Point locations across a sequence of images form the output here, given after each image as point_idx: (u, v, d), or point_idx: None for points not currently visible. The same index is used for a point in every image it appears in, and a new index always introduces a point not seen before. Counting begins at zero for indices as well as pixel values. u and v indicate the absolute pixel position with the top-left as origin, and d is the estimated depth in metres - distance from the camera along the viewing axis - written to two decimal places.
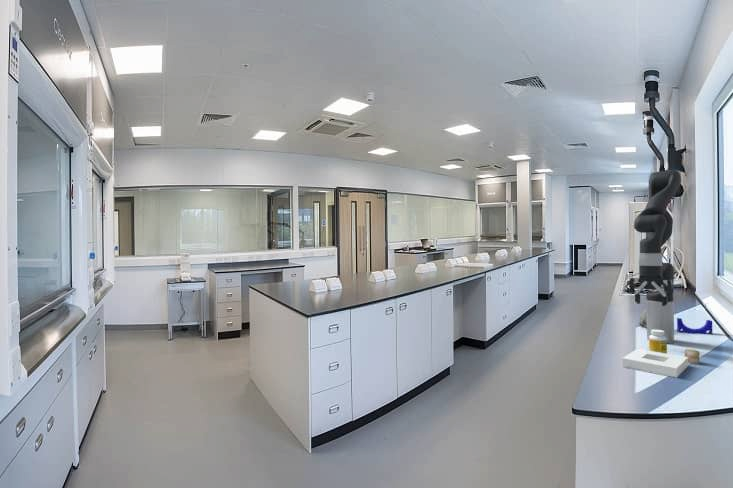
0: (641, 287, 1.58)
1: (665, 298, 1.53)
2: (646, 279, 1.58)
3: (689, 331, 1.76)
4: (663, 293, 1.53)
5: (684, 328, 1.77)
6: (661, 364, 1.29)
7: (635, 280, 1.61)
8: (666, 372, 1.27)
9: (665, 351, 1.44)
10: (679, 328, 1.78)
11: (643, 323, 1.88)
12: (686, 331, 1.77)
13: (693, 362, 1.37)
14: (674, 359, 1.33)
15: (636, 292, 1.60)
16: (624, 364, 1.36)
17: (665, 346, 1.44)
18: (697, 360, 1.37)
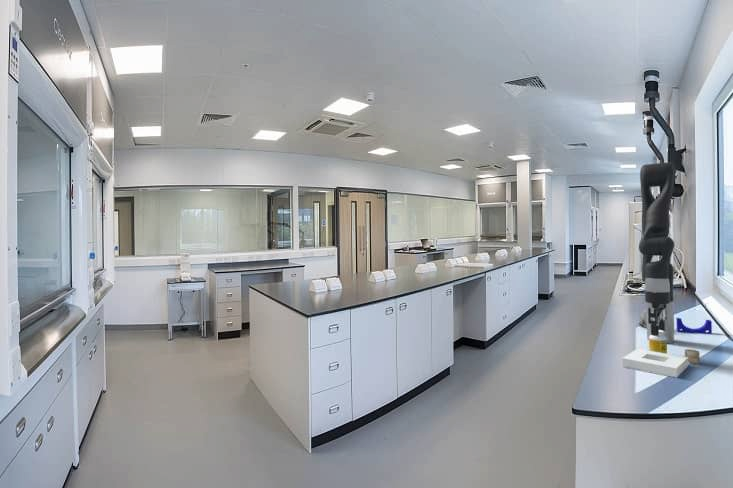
0: (661, 316, 1.43)
1: None
2: (660, 307, 1.44)
3: (689, 331, 1.77)
4: (664, 318, 1.48)
5: (684, 328, 1.78)
6: (661, 364, 1.29)
7: None
8: (666, 372, 1.27)
9: (665, 351, 1.44)
10: (679, 328, 1.79)
11: (643, 323, 1.89)
12: (686, 331, 1.77)
13: (693, 362, 1.37)
14: (674, 359, 1.33)
15: (658, 323, 1.42)
16: (624, 364, 1.36)
17: (665, 346, 1.44)
18: (697, 360, 1.37)
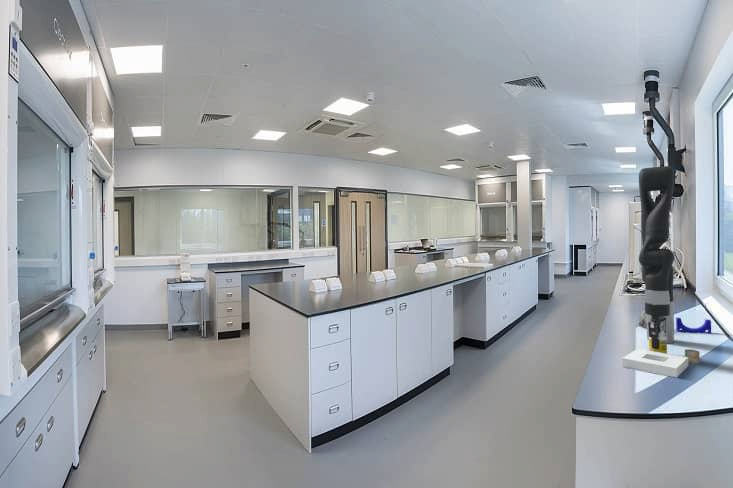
0: (661, 329, 1.44)
1: None
2: (659, 318, 1.45)
3: (688, 330, 1.77)
4: None
5: (683, 327, 1.78)
6: (661, 364, 1.29)
7: None
8: (666, 372, 1.27)
9: (665, 351, 1.44)
10: (678, 327, 1.79)
11: (642, 323, 1.89)
12: (685, 330, 1.78)
13: (693, 362, 1.37)
14: (674, 359, 1.33)
15: (659, 336, 1.43)
16: (624, 364, 1.36)
17: (665, 346, 1.44)
18: (697, 360, 1.37)
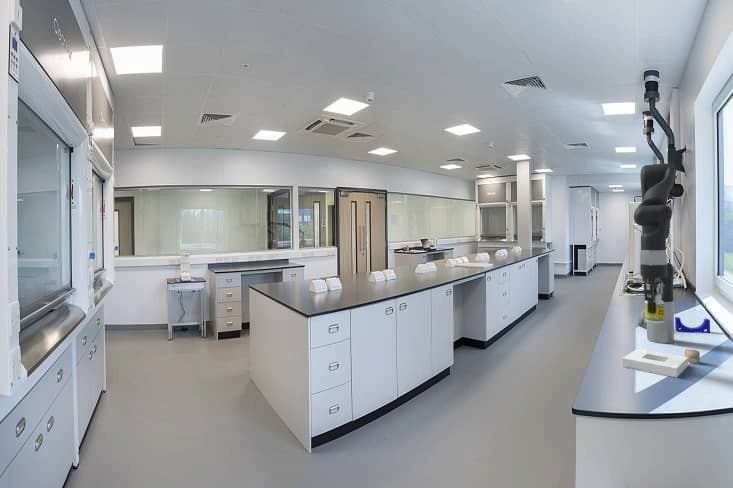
0: (658, 292, 1.32)
1: None
2: (656, 281, 1.33)
3: (687, 330, 1.78)
4: None
5: (682, 327, 1.79)
6: (661, 364, 1.29)
7: None
8: (666, 372, 1.27)
9: (662, 316, 1.33)
10: (678, 327, 1.80)
11: (641, 323, 1.89)
12: (684, 330, 1.79)
13: (693, 362, 1.37)
14: (674, 359, 1.33)
15: (655, 300, 1.32)
16: (624, 364, 1.36)
17: (662, 310, 1.33)
18: (697, 360, 1.37)
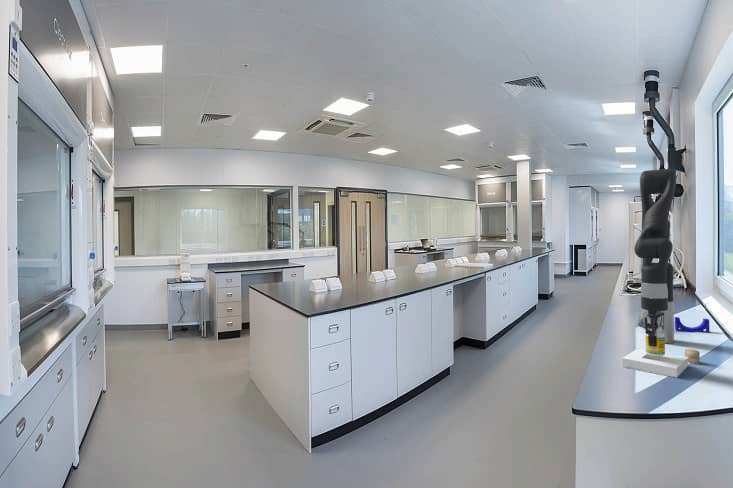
0: (658, 325, 1.33)
1: None
2: (657, 314, 1.34)
3: (687, 330, 1.79)
4: None
5: (682, 327, 1.80)
6: (661, 364, 1.29)
7: None
8: (666, 372, 1.27)
9: (663, 349, 1.33)
10: (677, 327, 1.81)
11: (641, 323, 1.89)
12: (684, 330, 1.79)
13: (693, 362, 1.37)
14: (674, 359, 1.33)
15: (656, 333, 1.32)
16: (624, 364, 1.36)
17: (663, 343, 1.33)
18: (697, 360, 1.37)
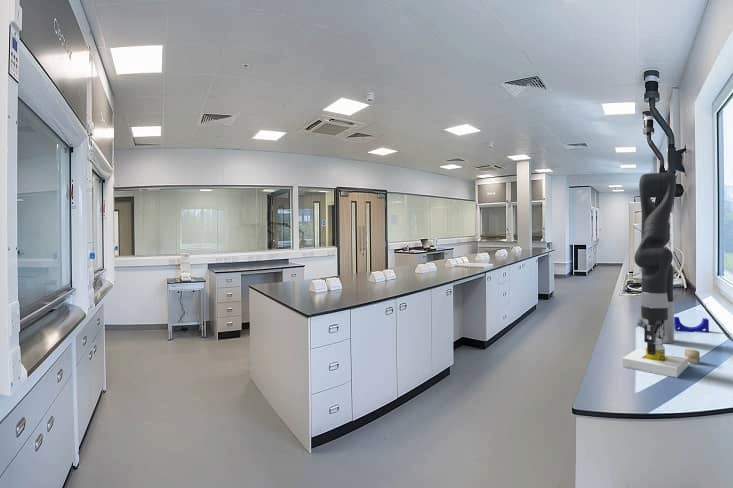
0: (658, 334, 1.32)
1: None
2: (657, 323, 1.34)
3: (686, 329, 1.79)
4: (662, 335, 1.37)
5: (681, 326, 1.80)
6: (661, 364, 1.29)
7: None
8: (666, 372, 1.27)
9: (663, 361, 1.33)
10: (677, 327, 1.81)
11: (641, 323, 1.89)
12: (683, 329, 1.80)
13: (693, 362, 1.37)
14: (674, 359, 1.33)
15: (655, 341, 1.31)
16: (624, 364, 1.36)
17: (663, 356, 1.33)
18: (697, 360, 1.37)
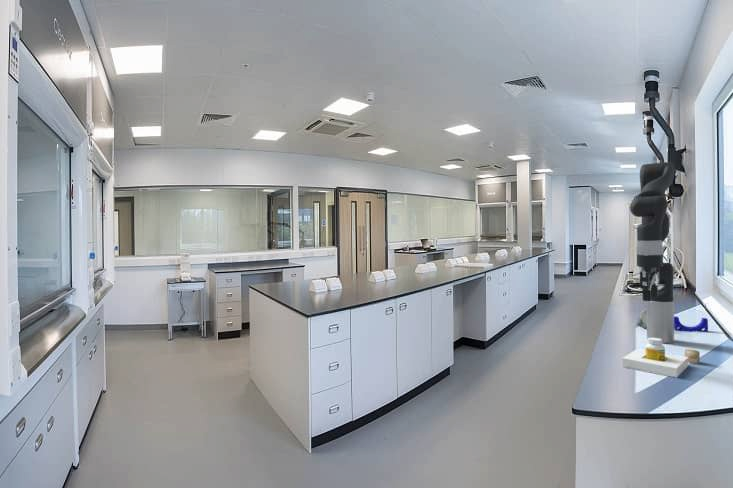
0: (653, 281, 1.35)
1: None
2: (652, 270, 1.36)
3: (686, 329, 1.80)
4: (657, 283, 1.40)
5: (681, 326, 1.81)
6: (661, 364, 1.29)
7: None
8: (666, 372, 1.27)
9: (663, 361, 1.33)
10: (676, 326, 1.82)
11: (640, 323, 1.89)
12: (683, 329, 1.81)
13: (693, 362, 1.37)
14: (674, 359, 1.33)
15: (650, 288, 1.34)
16: (624, 364, 1.36)
17: (663, 356, 1.33)
18: (697, 360, 1.37)
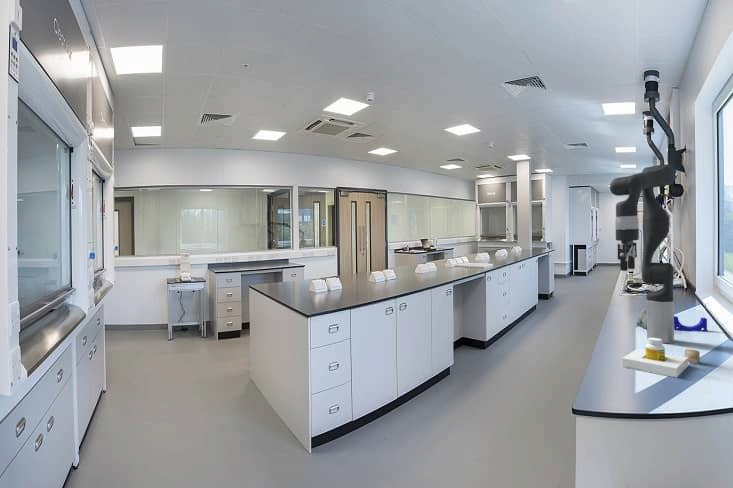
0: (630, 252, 1.49)
1: None
2: (629, 243, 1.50)
3: (685, 329, 1.81)
4: (634, 256, 1.54)
5: (680, 326, 1.82)
6: (661, 364, 1.29)
7: None
8: (666, 372, 1.27)
9: (663, 361, 1.33)
10: (675, 326, 1.82)
11: (640, 323, 1.89)
12: (682, 329, 1.81)
13: (693, 362, 1.37)
14: (674, 359, 1.33)
15: (627, 258, 1.48)
16: (624, 364, 1.36)
17: (663, 356, 1.33)
18: (697, 360, 1.37)
